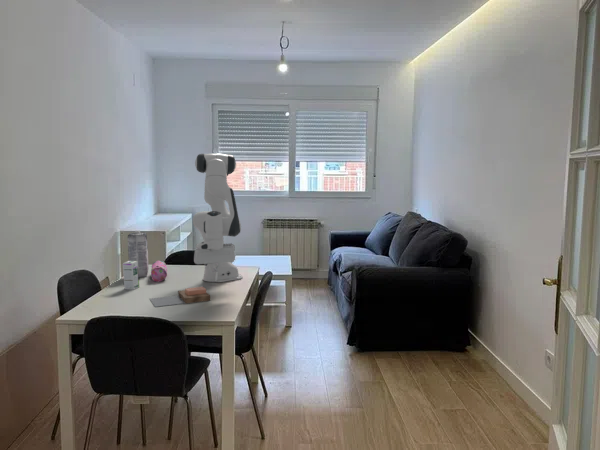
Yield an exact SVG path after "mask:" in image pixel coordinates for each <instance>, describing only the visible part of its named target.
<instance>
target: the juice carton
mask: <svg viewBox="0 0 600 450" xmlns="http://www.w3.org/2000/svg"><path fill="white" fill-rule="evenodd" d="M147 236H148V234H147V232H141V230H135V231H134V232H130V233H129V234H127V251H128V252H127V254H128V261H138V275H139V278H146V277H147V276H148V273H149V252H148V251H149V249H148V237H147Z"/></svg>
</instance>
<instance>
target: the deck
mask: <svg viewBox="0 0 600 450" xmlns="http://www.w3.org/2000/svg"><path fill="white" fill-rule="evenodd" d="M177 295H179V297H180V298H181V299H182V300H183V301H184V302H185V304H190V303H191V304H192V303H200V302H201V303H202V302H207V301H211V295H210V294H209V293H208V292H207V291H206V293H204V294H195V295H187V294H186V293H185V289H184V290H178V292H177Z"/></svg>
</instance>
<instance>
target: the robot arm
mask: <svg viewBox="0 0 600 450" xmlns="http://www.w3.org/2000/svg"><path fill="white" fill-rule="evenodd" d="M194 166H195V169H196V171H197V172H198V173H202V174H205V178H204V194H203V195H204V196H203V198H204V201H205V203H206V204H208V205H209V206H210V208H211V211H210V210H204V211H198V212H196V213H194V215H193V218H192V224H193V227H194V228H195V229H197V230H198V231H199V234H200V236H201V238H202V240H203V241H200V242H198V243H196V245H195V250H194V252H193V262H194V264H195V265H204V273H203V277H202V280H203V281H205V282H209V283H210V282H211V283H224V282H231V281H237V280H242V279H243V275H242V274H240V273H239V270H238V269H239V268H238V266H236V265H235V264H234V262H235V260H236V255H235V249H236V248H235V245H234V244H232V243H225V241H224V237H236V236H238V235H239V234H240V233H241V231H242V223H241V220H240V218H239V213H238V207H237V201H236V198H235V193H234V189H233V188H232V187H230V186H229V184H228V176H229V175H231V174H233V173H234V172H235V170H236V167H237V161H236V158H235V156H234V155H232V154H226V153H225V154H224V153H199V154H197V156H196V158H195V161H194ZM226 202H227V204H228V207H227V205H226Z"/></svg>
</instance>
